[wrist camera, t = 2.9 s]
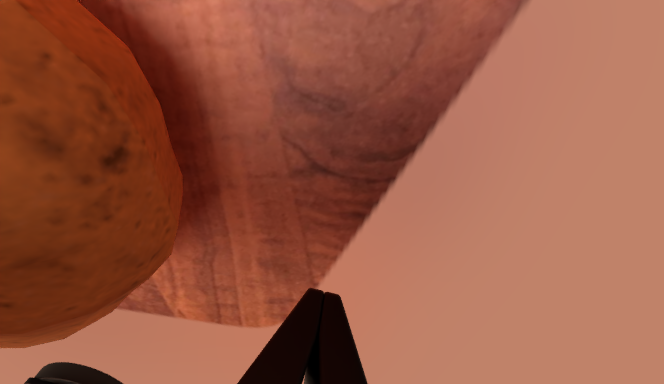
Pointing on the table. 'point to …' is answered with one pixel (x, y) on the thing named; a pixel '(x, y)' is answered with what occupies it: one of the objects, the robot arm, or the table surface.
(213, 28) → the table surface
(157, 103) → the potato
